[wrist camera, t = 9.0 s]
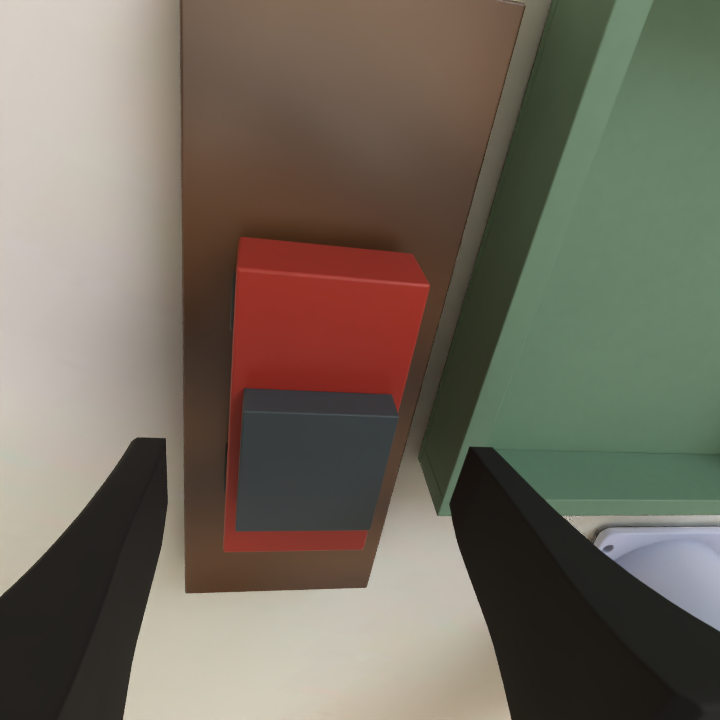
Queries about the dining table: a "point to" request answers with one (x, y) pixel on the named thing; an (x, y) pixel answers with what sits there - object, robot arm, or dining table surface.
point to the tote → (600, 274)
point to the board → (320, 200)
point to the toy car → (314, 390)
